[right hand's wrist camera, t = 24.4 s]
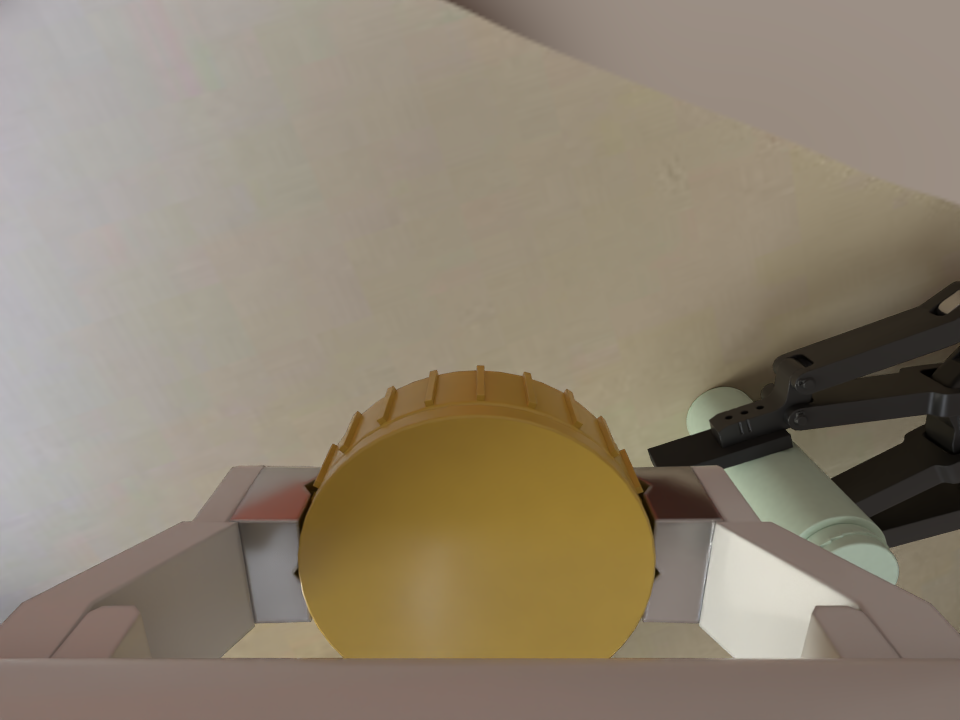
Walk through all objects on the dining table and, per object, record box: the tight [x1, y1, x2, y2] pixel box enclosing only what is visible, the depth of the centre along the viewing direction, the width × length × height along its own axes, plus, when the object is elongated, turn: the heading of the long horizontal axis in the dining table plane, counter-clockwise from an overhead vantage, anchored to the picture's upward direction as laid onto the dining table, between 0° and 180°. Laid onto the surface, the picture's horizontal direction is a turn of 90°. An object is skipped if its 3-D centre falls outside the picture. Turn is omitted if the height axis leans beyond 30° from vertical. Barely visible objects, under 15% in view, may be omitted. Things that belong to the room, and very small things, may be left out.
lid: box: [298, 366, 656, 658], centre depth 9 cm, size 5×5×2 cm
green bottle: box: [687, 387, 899, 585], centre depth 32 cm, size 4×4×15 cm
